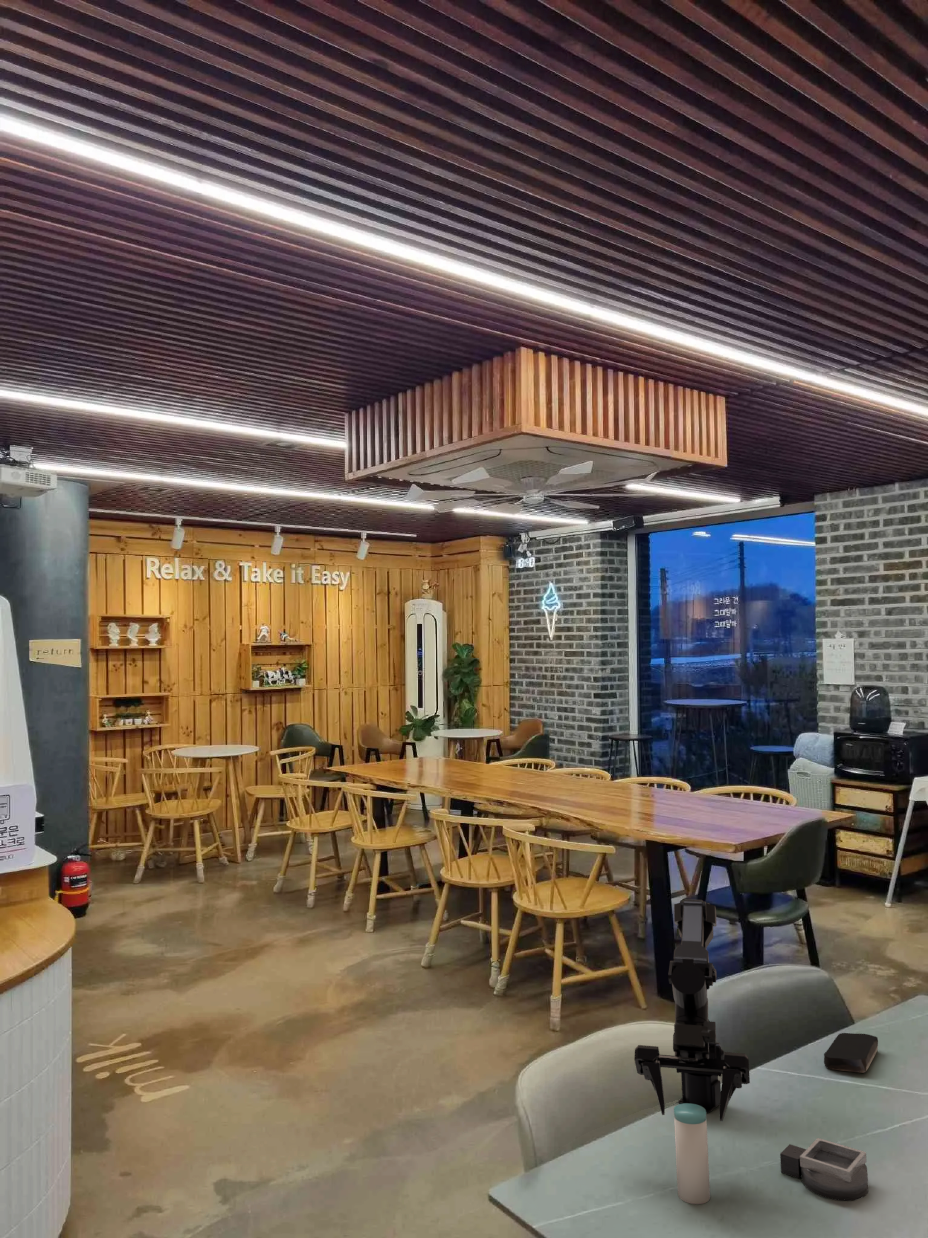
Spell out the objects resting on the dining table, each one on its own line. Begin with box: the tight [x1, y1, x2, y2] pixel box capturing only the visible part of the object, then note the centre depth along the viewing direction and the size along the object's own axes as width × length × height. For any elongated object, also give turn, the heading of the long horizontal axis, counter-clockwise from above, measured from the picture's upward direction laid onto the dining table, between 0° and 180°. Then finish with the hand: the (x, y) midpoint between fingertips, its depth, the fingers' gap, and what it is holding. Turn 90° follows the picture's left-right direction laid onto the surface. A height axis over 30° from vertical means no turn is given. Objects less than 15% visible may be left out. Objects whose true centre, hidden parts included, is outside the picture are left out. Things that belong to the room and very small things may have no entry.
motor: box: [779, 1137, 869, 1202], centre depth 149 cm, size 13×10×4 cm
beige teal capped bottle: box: [673, 1103, 711, 1205], centre depth 146 cm, size 5×5×13 cm
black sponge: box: [823, 1032, 879, 1073], centre depth 196 cm, size 16×8×4 cm, turn 146°
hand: (691, 1117), depth 150 cm, fingers open, 9 cm apart
